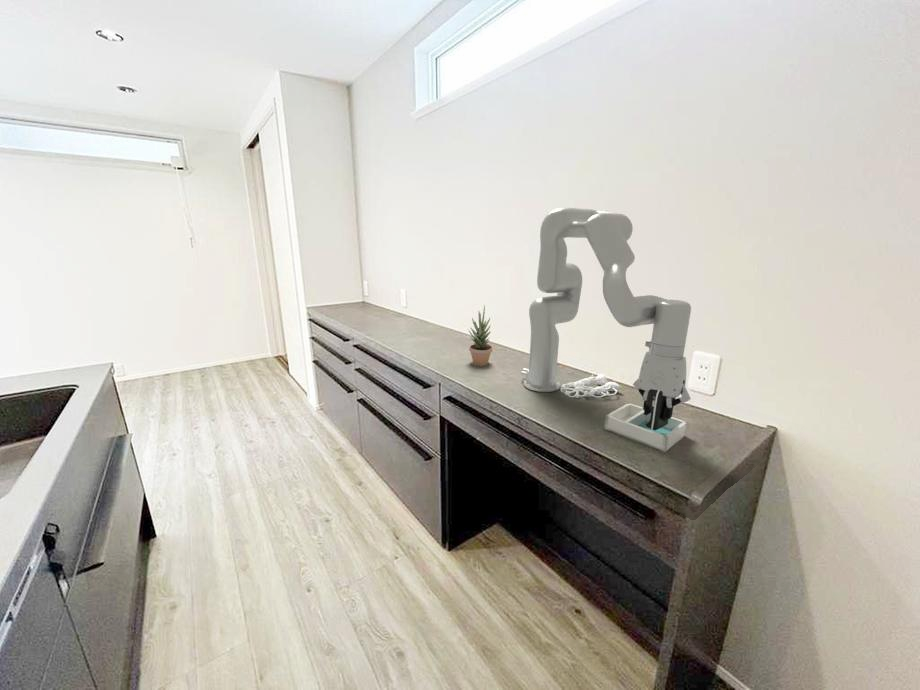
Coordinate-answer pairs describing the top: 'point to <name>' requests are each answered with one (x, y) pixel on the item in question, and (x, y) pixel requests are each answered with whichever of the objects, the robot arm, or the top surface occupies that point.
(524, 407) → the top surface
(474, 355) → the potted plant
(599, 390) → the tangled rod sculpture
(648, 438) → the divided compartment box
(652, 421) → the battery charger
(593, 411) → the top surface
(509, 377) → the top surface
